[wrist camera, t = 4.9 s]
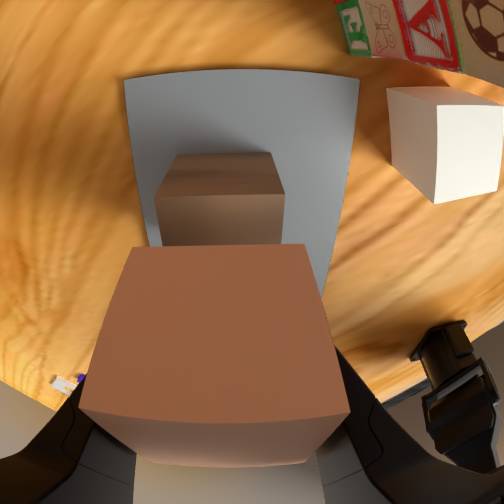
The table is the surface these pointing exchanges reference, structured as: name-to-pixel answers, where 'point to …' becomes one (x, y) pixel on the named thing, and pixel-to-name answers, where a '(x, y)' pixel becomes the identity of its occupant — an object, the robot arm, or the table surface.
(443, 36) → the stack of blocks
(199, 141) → the plate
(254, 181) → the walnut brick
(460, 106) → the offwhite brick
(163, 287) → the terracotta brick
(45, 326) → the table surface
